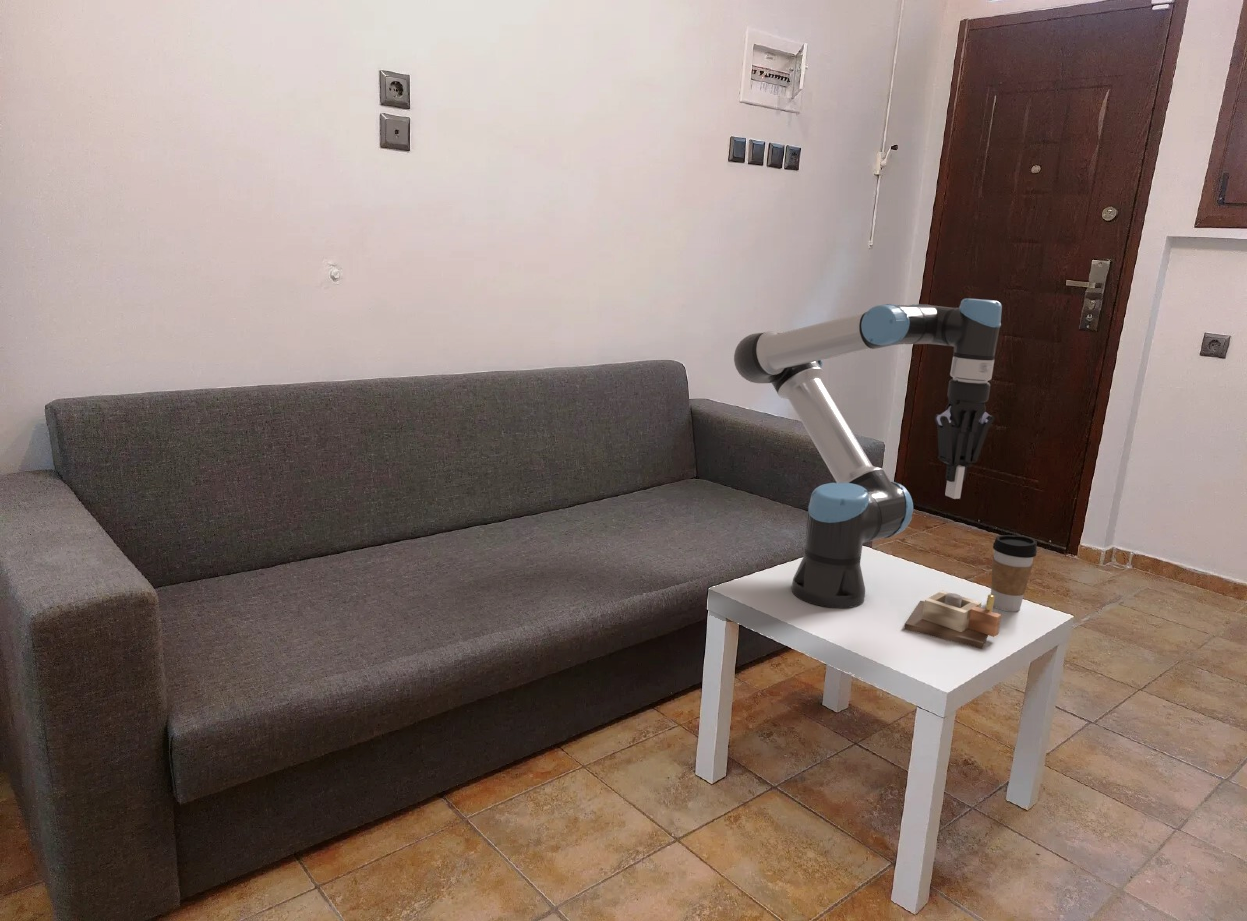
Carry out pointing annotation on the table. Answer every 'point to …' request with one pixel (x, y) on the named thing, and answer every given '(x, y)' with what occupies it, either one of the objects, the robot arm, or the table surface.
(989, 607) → the dowel
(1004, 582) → the coffee cup
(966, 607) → the hollow square frame
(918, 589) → the table surface
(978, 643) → the base
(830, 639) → the table surface
